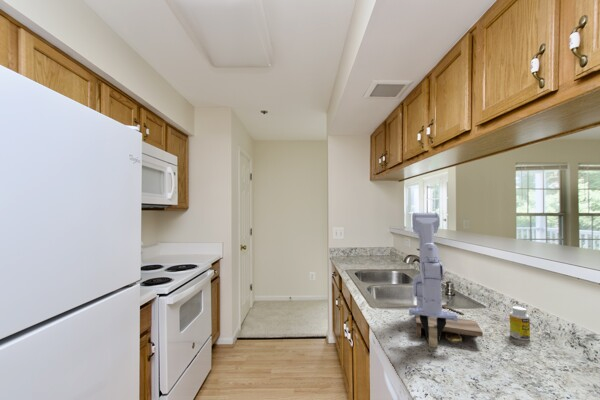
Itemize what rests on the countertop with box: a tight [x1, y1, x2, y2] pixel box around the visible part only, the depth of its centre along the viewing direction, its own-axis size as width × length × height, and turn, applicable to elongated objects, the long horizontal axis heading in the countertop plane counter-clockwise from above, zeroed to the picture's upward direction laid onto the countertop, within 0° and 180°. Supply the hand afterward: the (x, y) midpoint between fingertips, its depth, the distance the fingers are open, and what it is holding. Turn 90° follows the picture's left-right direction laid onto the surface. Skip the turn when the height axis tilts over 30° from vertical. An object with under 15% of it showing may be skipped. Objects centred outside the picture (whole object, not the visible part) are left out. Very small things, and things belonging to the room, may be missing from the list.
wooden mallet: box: [428, 324, 439, 348], centre depth 95 cm, size 13×3×6 cm, turn 158°
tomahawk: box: [442, 304, 465, 316], centre depth 128 cm, size 20×7×1 cm, turn 22°
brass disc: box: [444, 332, 463, 344], centre depth 95 cm, size 5×5×1 cm
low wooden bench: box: [415, 315, 484, 339], centre depth 97 cm, size 10×20×5 cm, turn 68°
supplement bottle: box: [509, 306, 531, 341], centre depth 97 cm, size 6×6×10 cm
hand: (432, 339), depth 91 cm, fingers closed on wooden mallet, 2 cm apart
